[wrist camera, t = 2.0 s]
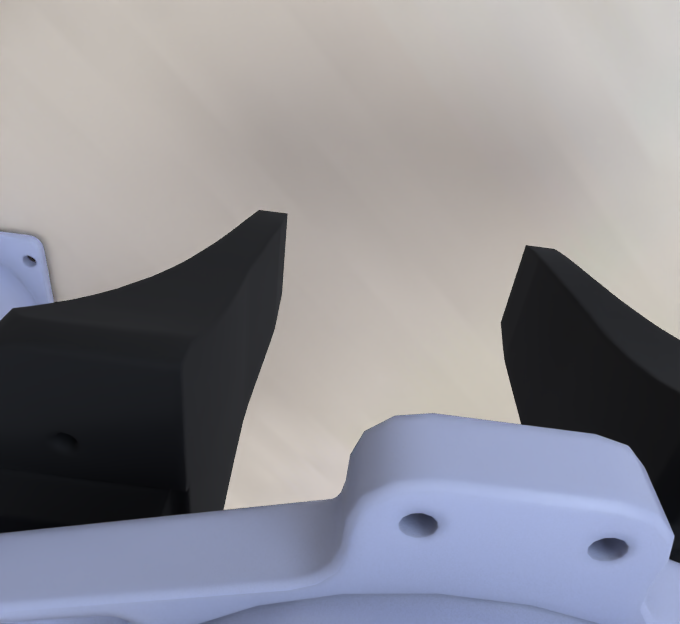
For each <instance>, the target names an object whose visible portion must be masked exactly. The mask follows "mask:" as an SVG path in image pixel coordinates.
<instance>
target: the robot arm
mask: <svg viewBox="0 0 680 624" xmlns="http://www.w3.org/2000/svg"><path fill="white" fill-rule="evenodd" d="M286 228H287V214H286V213H278V212H271V211H263V210H259V211H257V212H256V213H255V214H253V215H252V216H250V217H249V218H248V219H246V220H245V221H244V222H243V223H241V224H240V225H239V226H237V227H236V228H235V229H233V230H232V231H231V232H230V233H228V234H227V235H225V236H224V237H223V238H221V239H220V240H218V241H217V242H216V243H214V244H212V245H211V246H209V247H208V248H206V249H204V250H203V251H201V252H199V253H198V254H196V255H195V256H193V257H191V258H190V259H188V260H186V261H184V262H182V263H180V264H178V265H176V266H174V267H172V268H170V269H168V270H166V271H163V272H161V273H159V274H157V275H154V276H152V277H149V278H146V279H144V280H141V281H138V282H135V283H132V284H129V285H126V286H123V287H121V288H118V289H114V290H111V291H107V292H103V293H99V294H95V295H91V296H86V297H82V298H77V299H73V300H67V301H62V302H55V303H54V299H53V294H52V288H51V283H50V278H49V272H48V267H47V262H46V256H45V251H44V247H43V244H42V243H41V241H40V240H39V239H37V238H36V237H34V236H31V235H25V234H18V233H10V232H2V231H0V624H680V340H679V339H677V338H676V337H674V336H672V335H670V334H669V333H667V332H665V331H664V330H662V329H661V328H659V327H658V326H656V325H655V324H653V323H652V322H650V321H649V320H647V319H646V318H644V317H643V316H642V315H640V314H639V313H637V312H636V311H635V310H633V309H632V308H630V307H629V306H628V305H626V304H625V303H624V302H622V301H621V300H620V299H618V298H617V297H616V296H615V295H613V294H612V293H611V292H609V291H608V290H607V289H606V288H604V287H603V286H602V285H601V284H599V283H598V282H597V281H596V280H595V279H593V278H592V277H591V276H590V275H588V274H587V273H586V272H585V271H583V270H582V269H581V268H580V267H579V266H577V265H576V264H575V263H574V262H572V261H571V260H570V259H568V258H567V257H566V256H564V255H563V254H561V253H560V252H558V251H557V250H555V249H550V248H542V247H535V246H527V245H526V247H525V250H524V253H523V256H522V259H521V262H520V265H519V268H518V272H517V275H516V278H515V281H514V284H513V287H512V290H511V293H510V296H509V299H508V302H507V305H506V308H505V311H504V314H503V318H502V321H501V329H502V341H503V351H504V359H505V364H506V368H507V372H508V376H509V380H510V383H511V387H512V391H513V395H514V399H515V402H516V406H517V410H518V414H519V417H520V421H521V424H513V423H506V422H498V421H490V420H482V419H475V418H467V417H459V416H451V415H444V414H436V413H429V414H413V415H397V416H393V417H391V418H389V419H387V420H385V421H384V422H382V423H380V424H378V425H376V426H374V427H372V428H370V429H368V430H366V431H364V433H363V434H362V436H361V438H360V439H359V441H358V443H357V444H356V446H355V448H354V449H353V451H352V453H351V454H350V459H349V465H348V471H347V476H346V481H345V484H344V486H343V489H342V492H341V493H340V494H339V495H338V496H337V497H335V498H333V499H327V500H317V501H307V502H298V503H288V504H278V505H269V506H259V507H249V508H239V509H230V510H223V509H224V504H225V500H226V495H227V490H228V486H229V481H230V477H231V472H232V468H233V463H234V458H235V454H236V450H237V445H238V441H239V437H240V432H241V428H242V424H243V420H244V416H245V413H246V410H247V406H248V403H249V400H250V398H251V395H252V392H253V389H254V386H255V383H256V381H257V378H258V375H259V372H260V369H261V367H262V364H263V361H264V358H265V355H266V353H267V350H268V347H269V344H270V341H271V338H272V335H273V332H274V329H275V325H276V320H277V315H278V310H279V305H280V300H281V295H282V285H283V271H284V257H285V242H286ZM28 256H31V257H33V258H34V259H35V261H36V262H33V261H31V260H30V259H29V258H28Z"/></svg>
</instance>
